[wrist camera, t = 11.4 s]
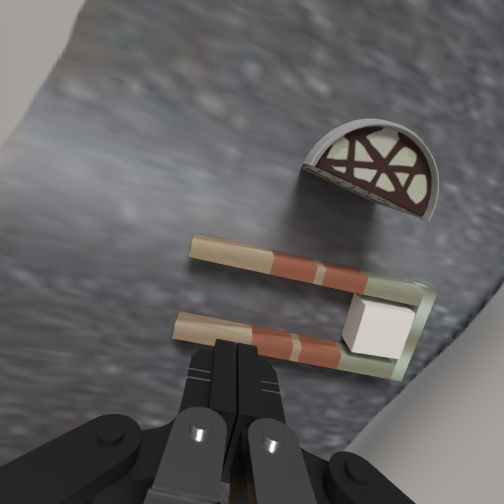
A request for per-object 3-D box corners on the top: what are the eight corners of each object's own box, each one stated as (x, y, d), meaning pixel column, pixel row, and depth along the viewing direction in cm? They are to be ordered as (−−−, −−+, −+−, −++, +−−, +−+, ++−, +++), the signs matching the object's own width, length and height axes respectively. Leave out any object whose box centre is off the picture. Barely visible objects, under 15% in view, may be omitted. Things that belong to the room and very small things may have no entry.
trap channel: (195, 233, 38) (192, 239, 35) (423, 284, 41) (437, 293, 38) (176, 325, 41) (172, 338, 38) (390, 366, 44) (401, 381, 41)
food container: (412, 156, 37) (474, 155, 27) (384, 207, 38) (434, 223, 29) (314, 107, 35) (343, 87, 26) (289, 162, 37) (308, 163, 27)
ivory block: (353, 291, 41) (365, 305, 37) (398, 299, 42) (415, 313, 38) (341, 334, 43) (351, 351, 39) (384, 341, 43) (399, 359, 39)
